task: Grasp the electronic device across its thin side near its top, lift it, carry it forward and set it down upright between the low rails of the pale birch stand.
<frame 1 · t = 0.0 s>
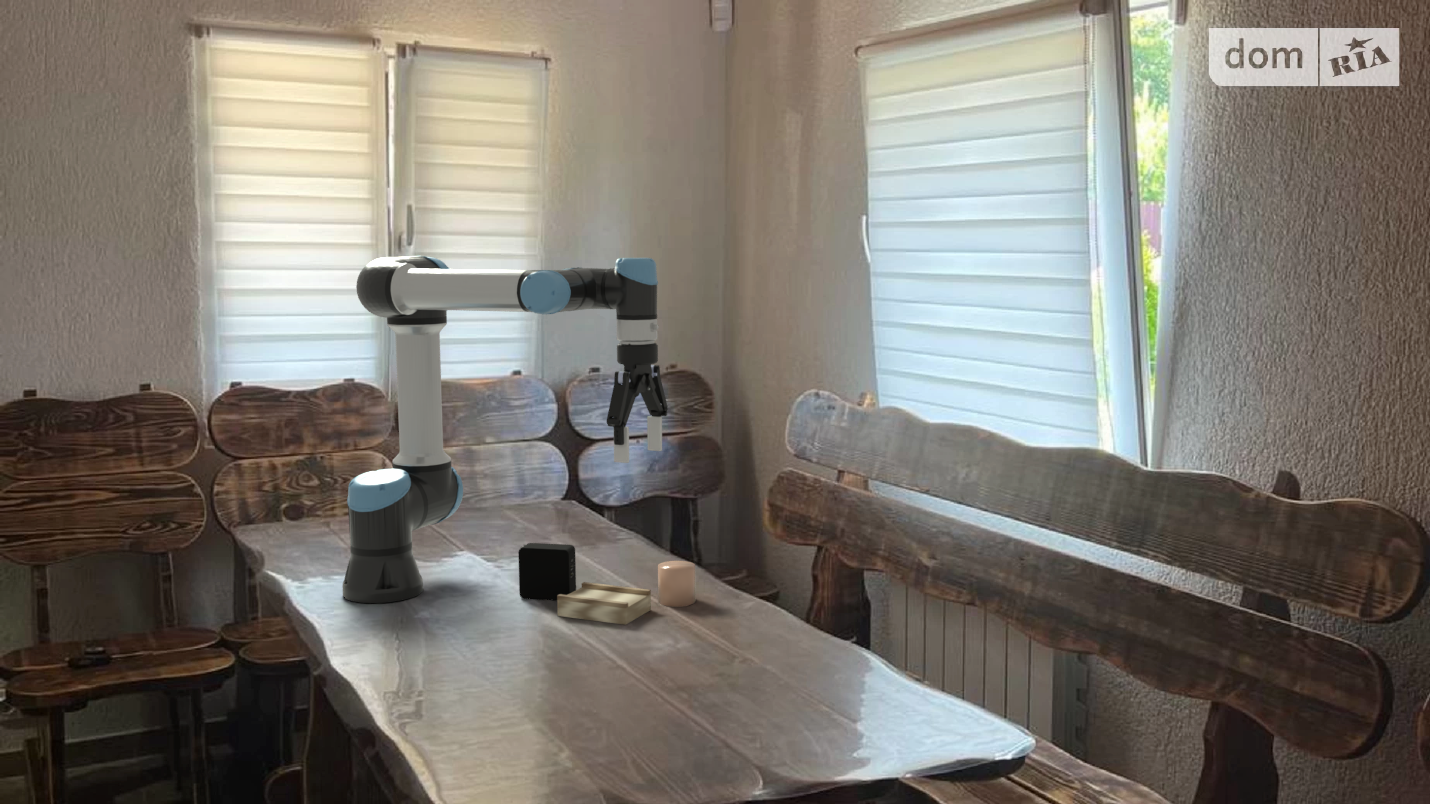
hand: (638, 456, 242), 28 cm above the table, fingers open, 13 cm apart
peach rounded cylinder: (676, 601, 247), on the table
electronic device: (548, 598, 250), on the table
stand: (604, 612, 240), on the table
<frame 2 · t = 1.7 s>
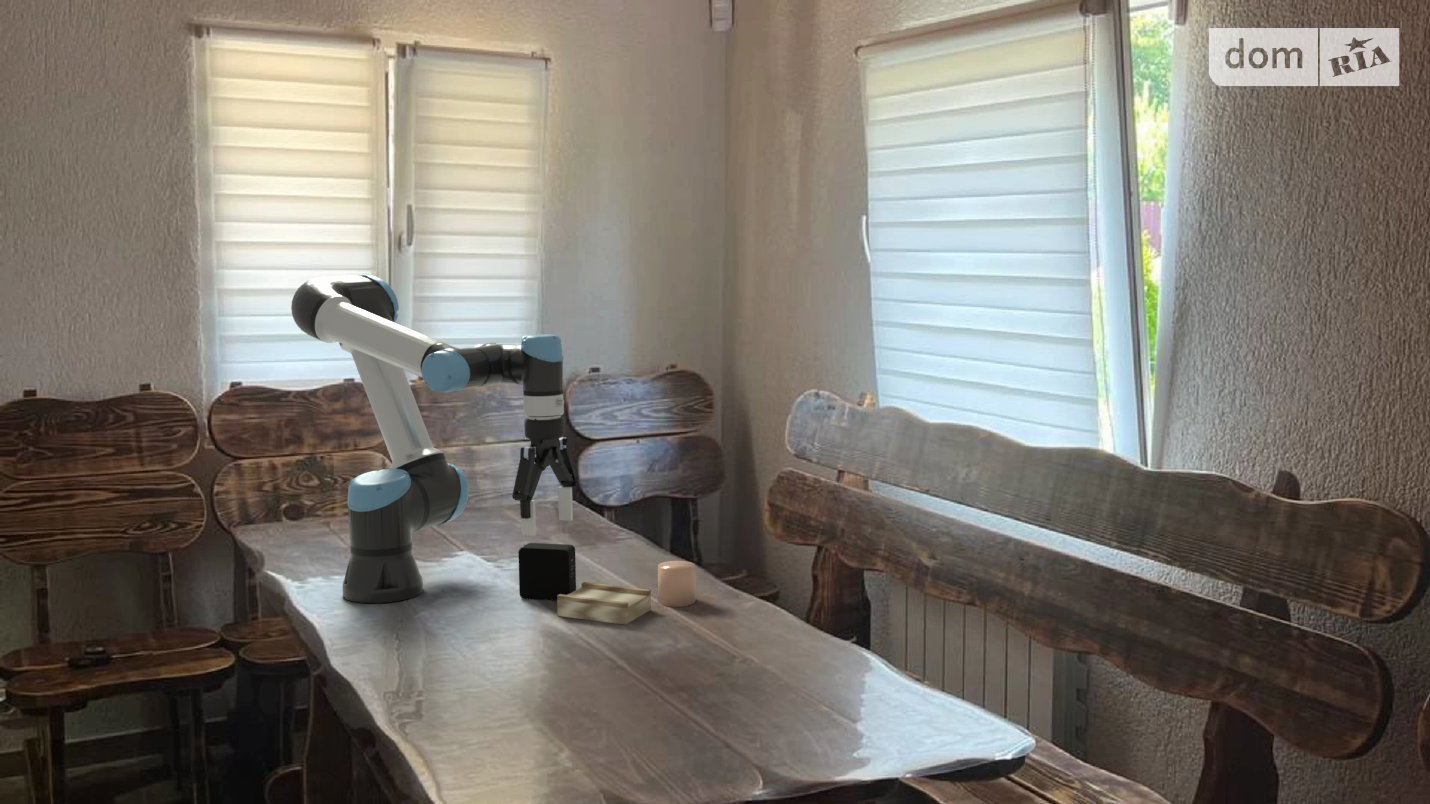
hand: (547, 527, 248), 14 cm above the table, fingers open, 13 cm apart
nothing on the table moved.
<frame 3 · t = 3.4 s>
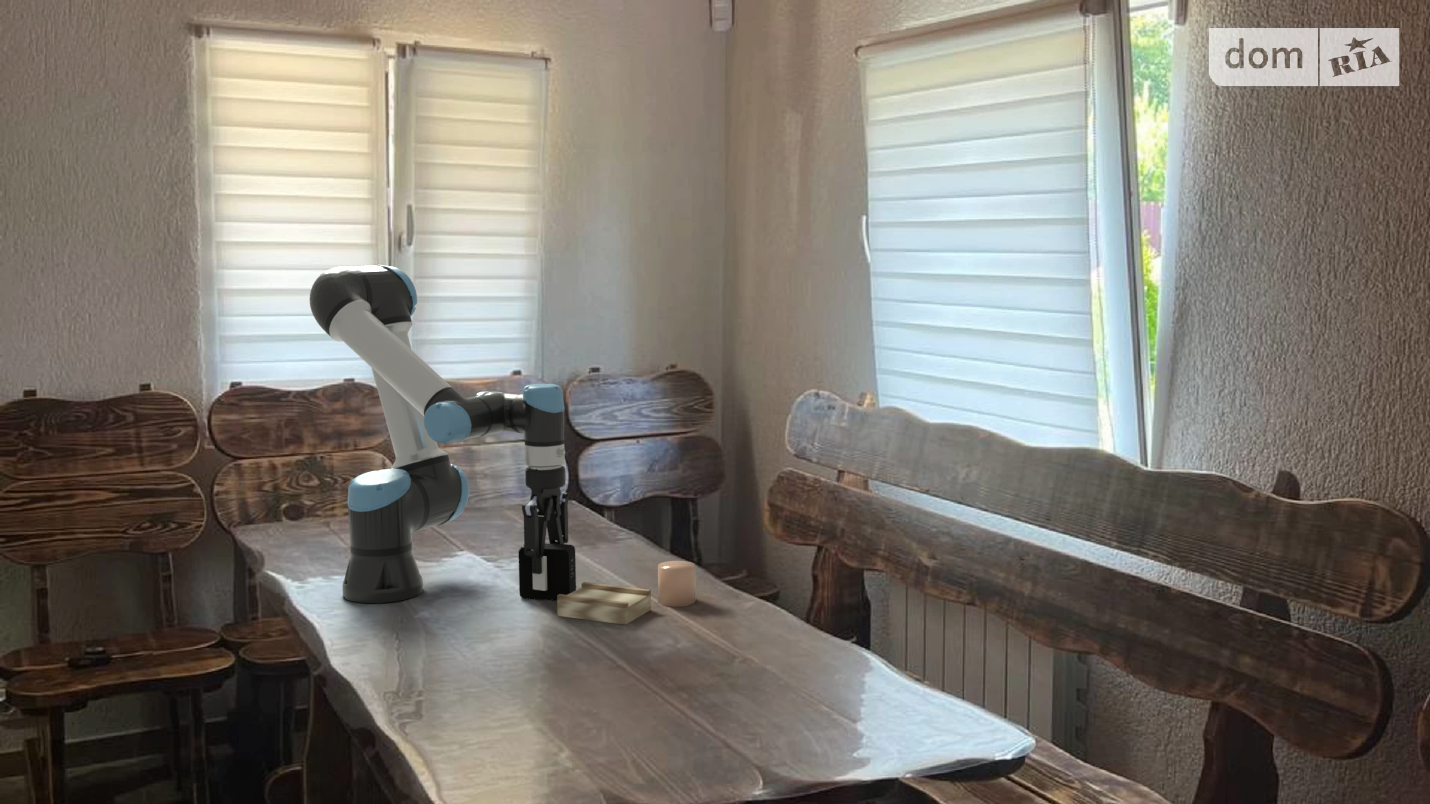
hand: (547, 585, 250), 2 cm above the table, fingers closed on electronic device, 5 cm apart
electronic device: (548, 598, 250), on the table, touching gripper
everything else where it was.
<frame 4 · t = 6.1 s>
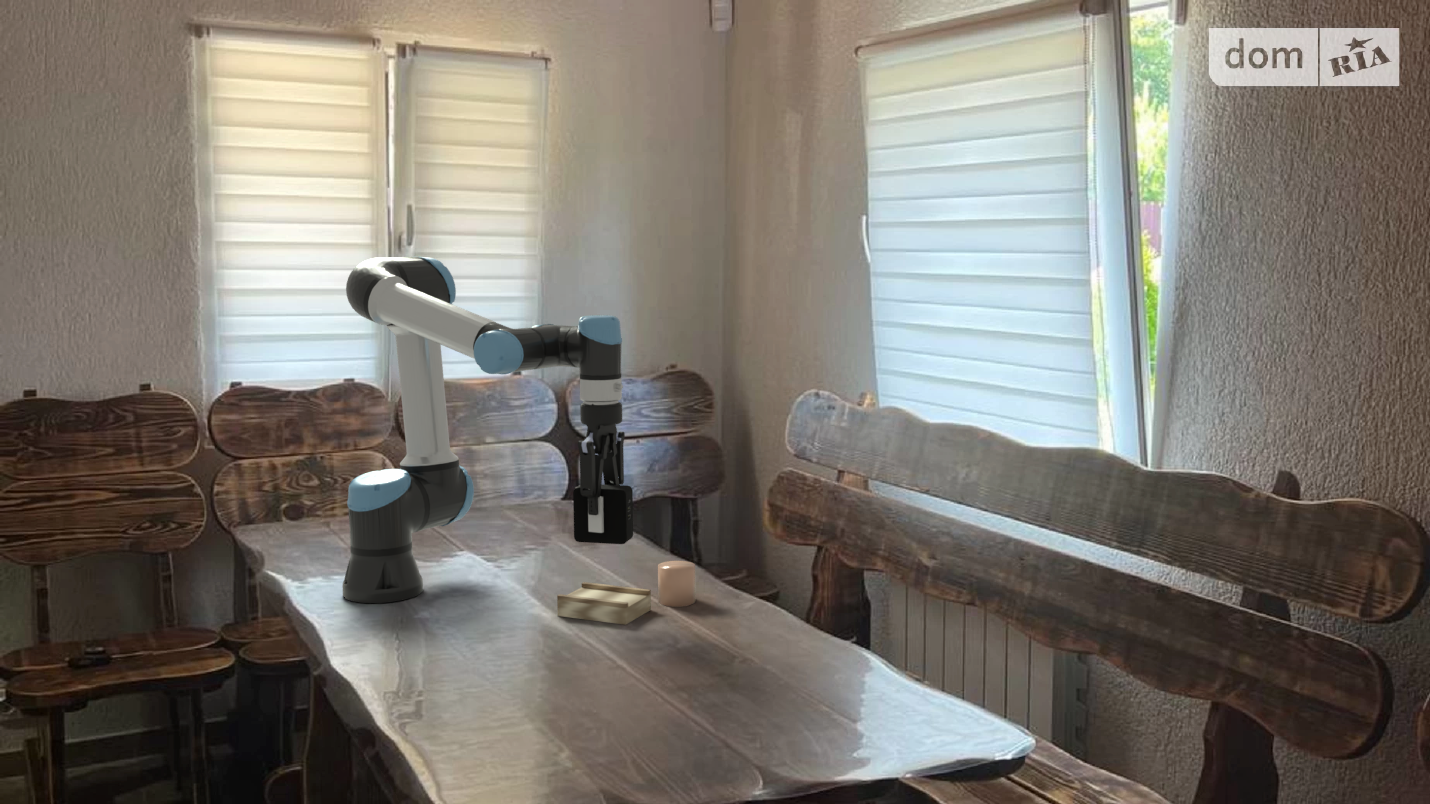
hand: (603, 528, 238), 16 cm above the table, fingers closed on electronic device, 5 cm apart
electronic device: (603, 541, 238), point 13 cm above the table, touching gripper
everything else where it was.
when the fingers open (6 cm above the table, at t = 8.4 s): electronic device moves 1 cm, resting on stand.
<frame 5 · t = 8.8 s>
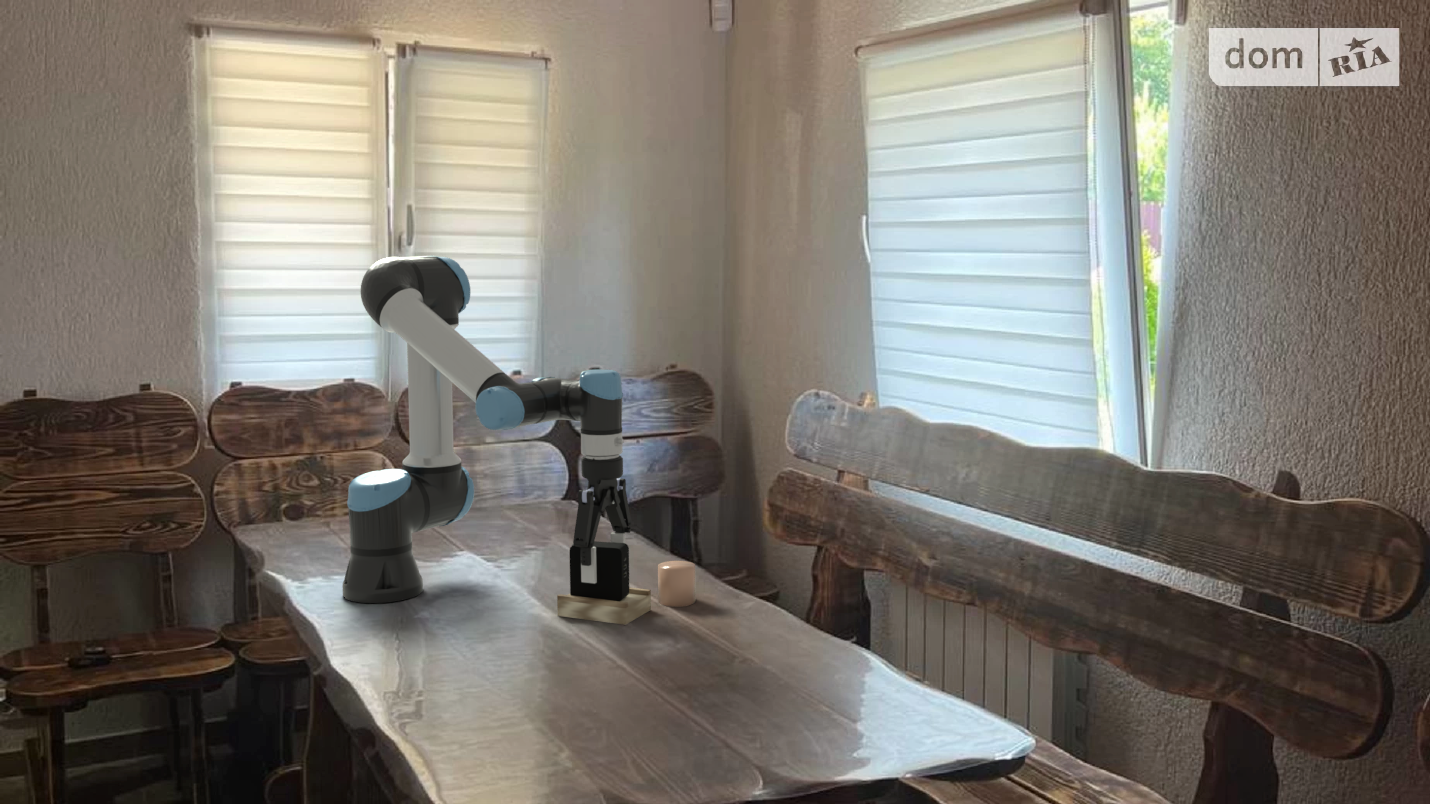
hand: (603, 574, 239), 7 cm above the table, fingers open, 10 cm apart
electronic device: (600, 598, 239), point 3 cm above the table, touching stand
everything else where it was.
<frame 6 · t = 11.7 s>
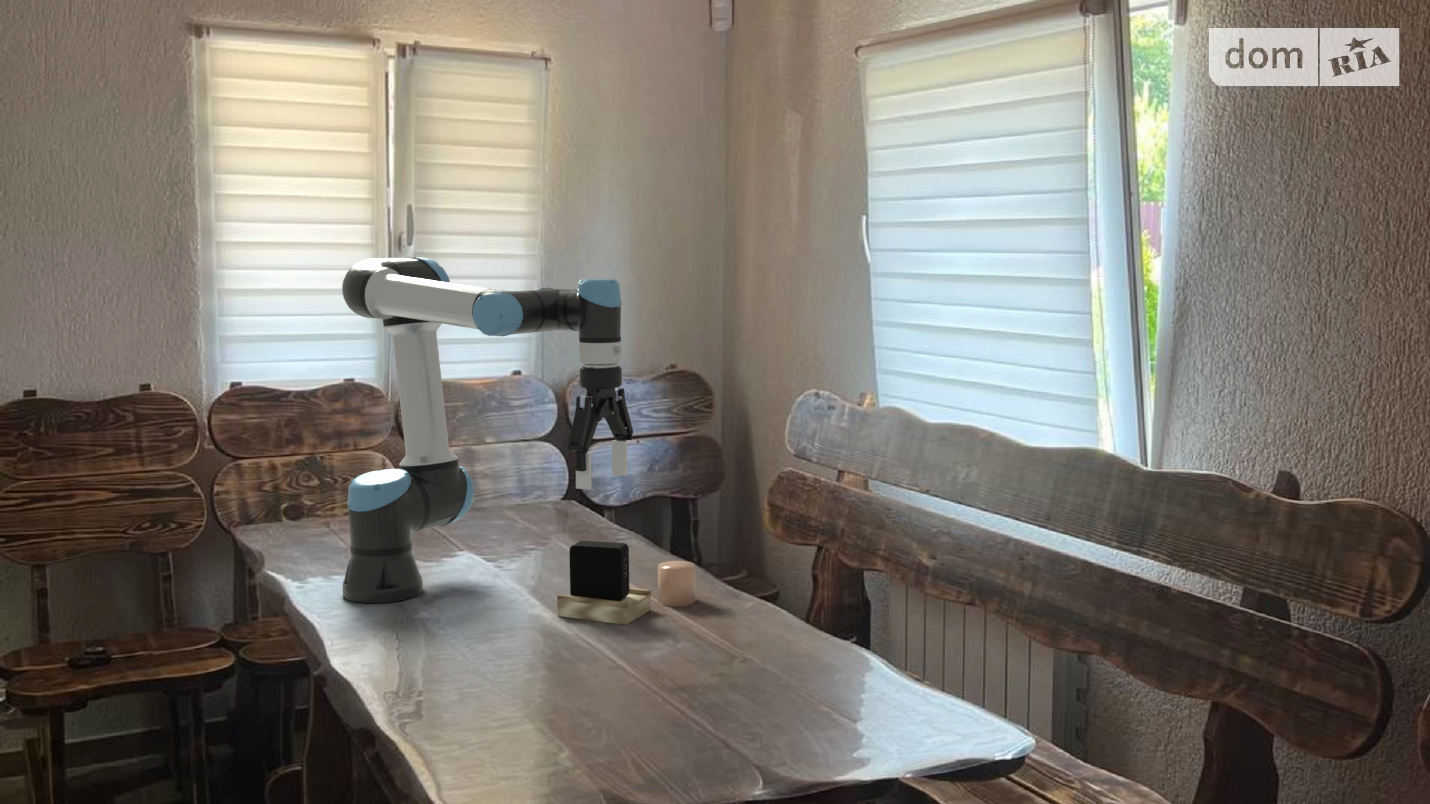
hand: (602, 482, 237), 24 cm above the table, fingers open, 13 cm apart
nothing on the table moved.
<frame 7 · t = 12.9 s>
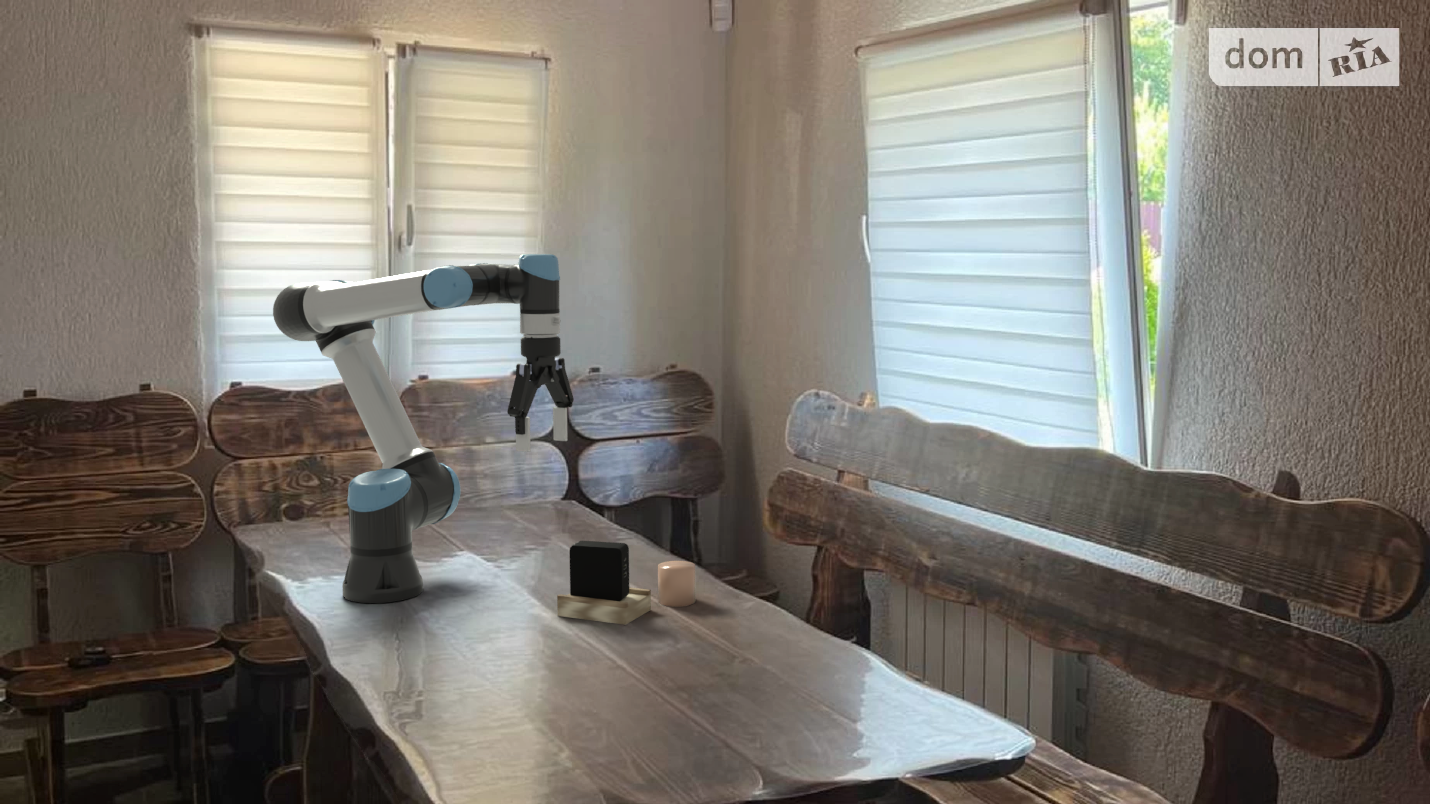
hand: (542, 445, 251), 29 cm above the table, fingers open, 13 cm apart
nothing on the table moved.
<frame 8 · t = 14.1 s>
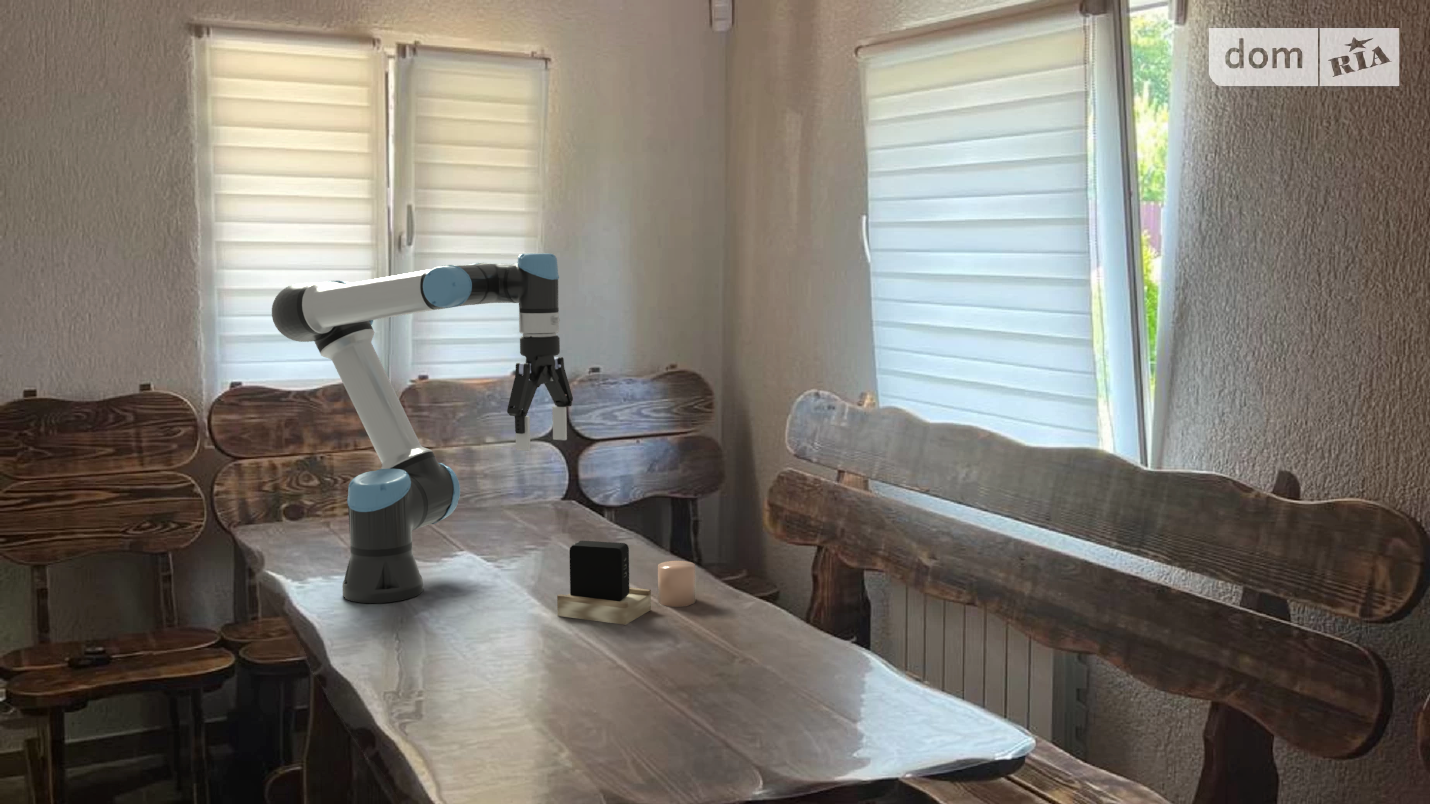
hand: (542, 445, 251), 29 cm above the table, fingers open, 13 cm apart
nothing on the table moved.
at the end: electronic device inside the target area on the stand (0.9 cm from its centre), point 2.8 cm above the stand's base; electronic device tilted 0°; the gripper is holding nothing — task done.
